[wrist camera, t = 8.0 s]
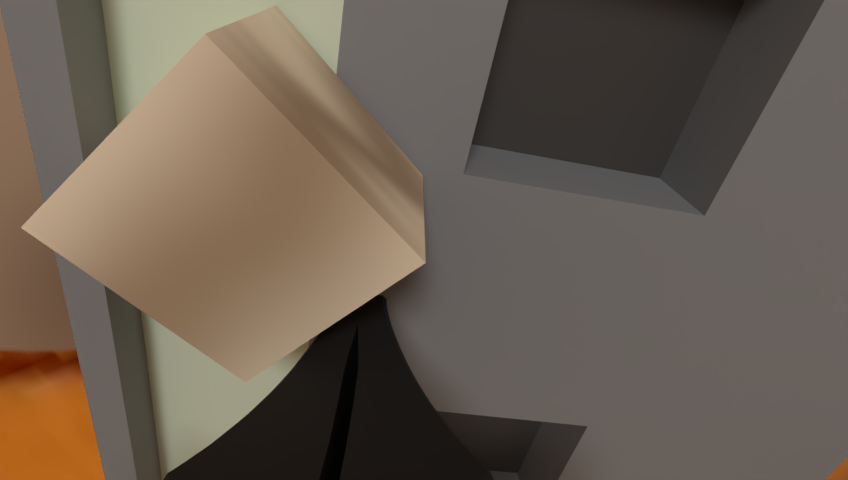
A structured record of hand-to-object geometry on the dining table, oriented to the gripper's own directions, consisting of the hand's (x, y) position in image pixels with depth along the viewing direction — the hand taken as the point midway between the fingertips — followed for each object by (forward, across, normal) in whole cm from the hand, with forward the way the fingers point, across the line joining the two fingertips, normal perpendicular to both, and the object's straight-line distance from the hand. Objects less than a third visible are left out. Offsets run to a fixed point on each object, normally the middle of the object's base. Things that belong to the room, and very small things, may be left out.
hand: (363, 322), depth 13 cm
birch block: (+1, +2, -4) cm, 5 cm away
